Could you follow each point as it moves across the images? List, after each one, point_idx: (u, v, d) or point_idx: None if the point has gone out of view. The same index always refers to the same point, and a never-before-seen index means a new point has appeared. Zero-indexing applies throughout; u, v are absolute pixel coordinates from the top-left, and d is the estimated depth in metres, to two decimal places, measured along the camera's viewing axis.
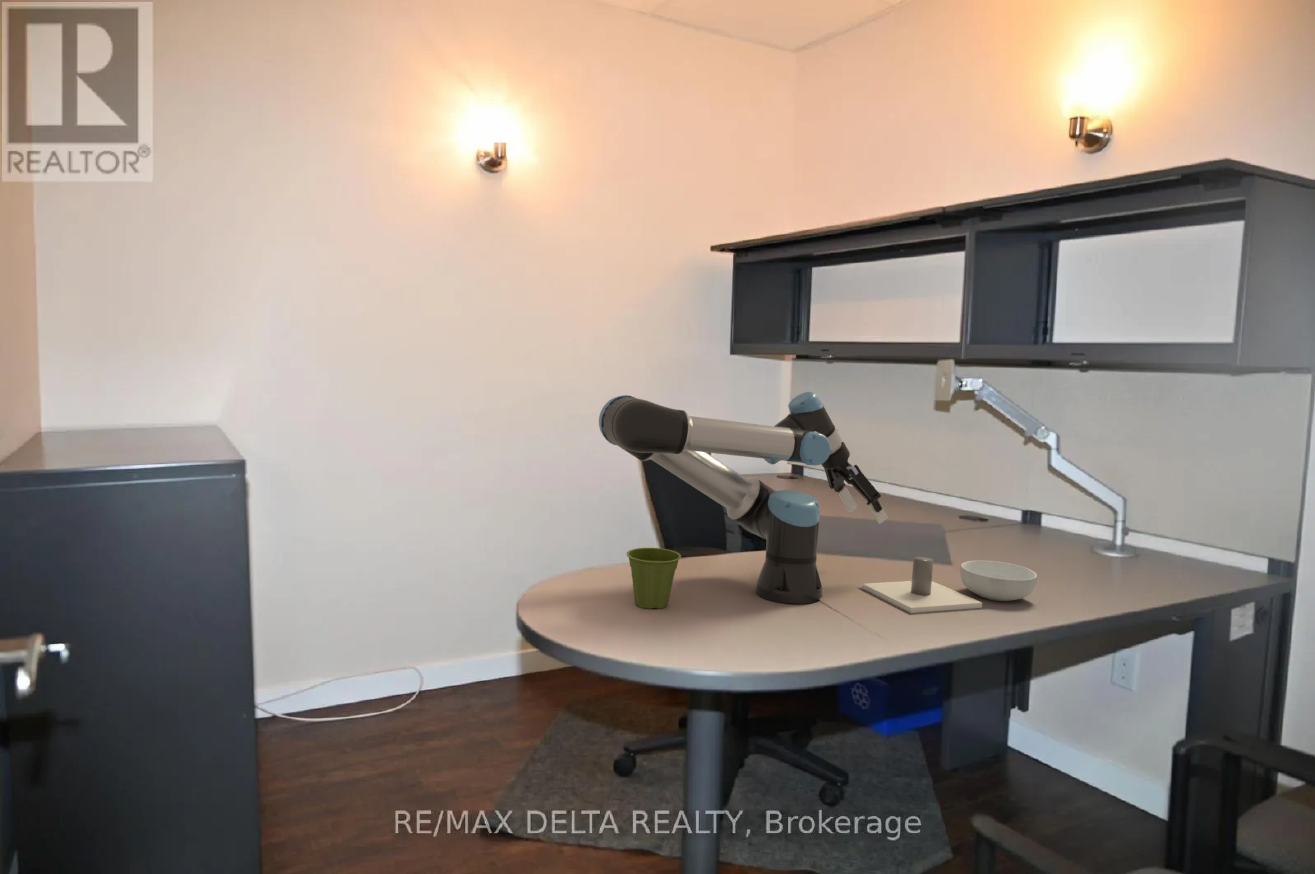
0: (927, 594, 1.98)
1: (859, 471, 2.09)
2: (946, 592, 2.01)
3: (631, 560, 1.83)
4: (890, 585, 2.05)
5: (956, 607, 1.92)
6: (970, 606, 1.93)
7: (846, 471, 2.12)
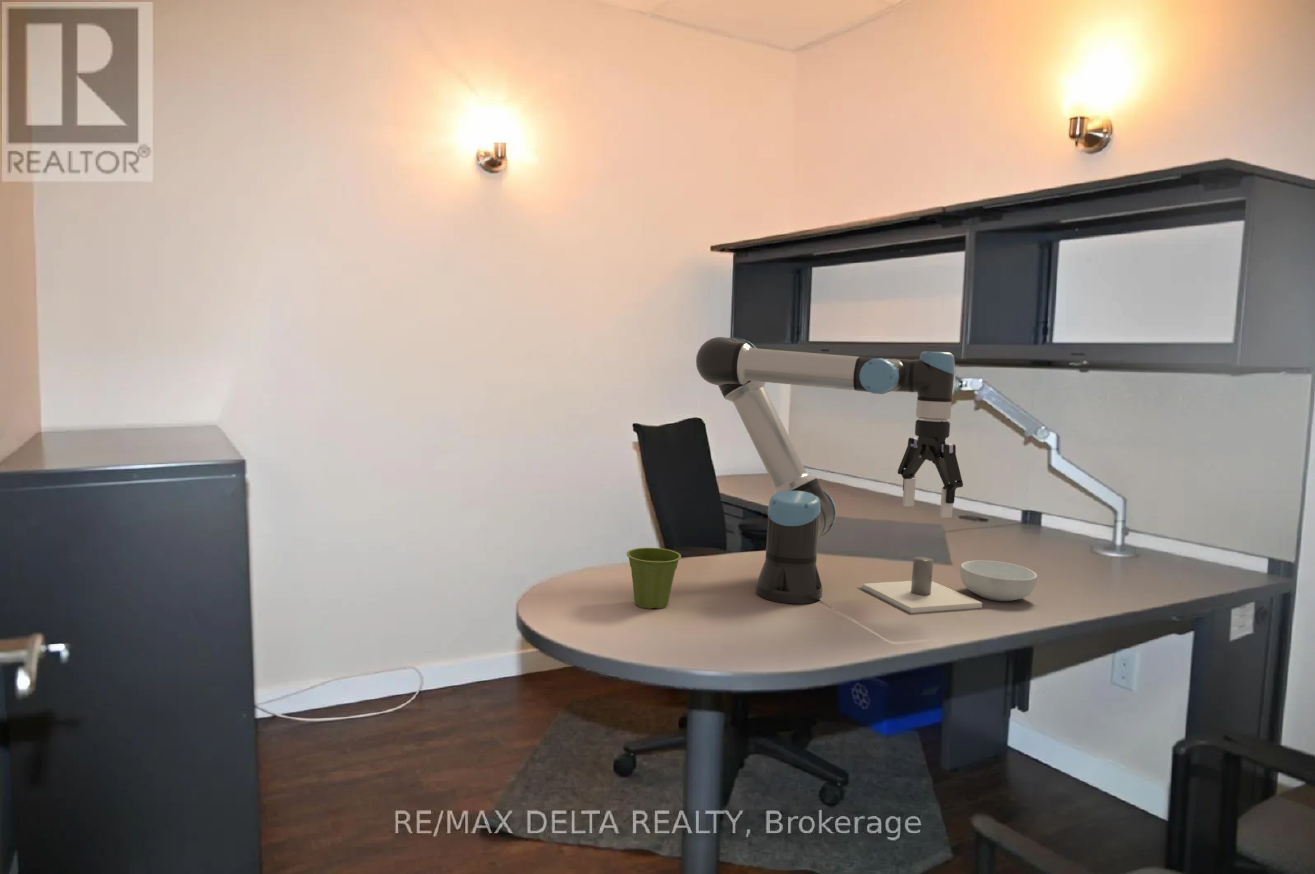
0: (927, 594, 1.98)
1: (954, 451, 1.90)
2: (946, 592, 2.01)
3: (631, 560, 1.83)
4: (890, 585, 2.05)
5: (956, 607, 1.92)
6: (970, 606, 1.93)
7: (939, 447, 1.92)
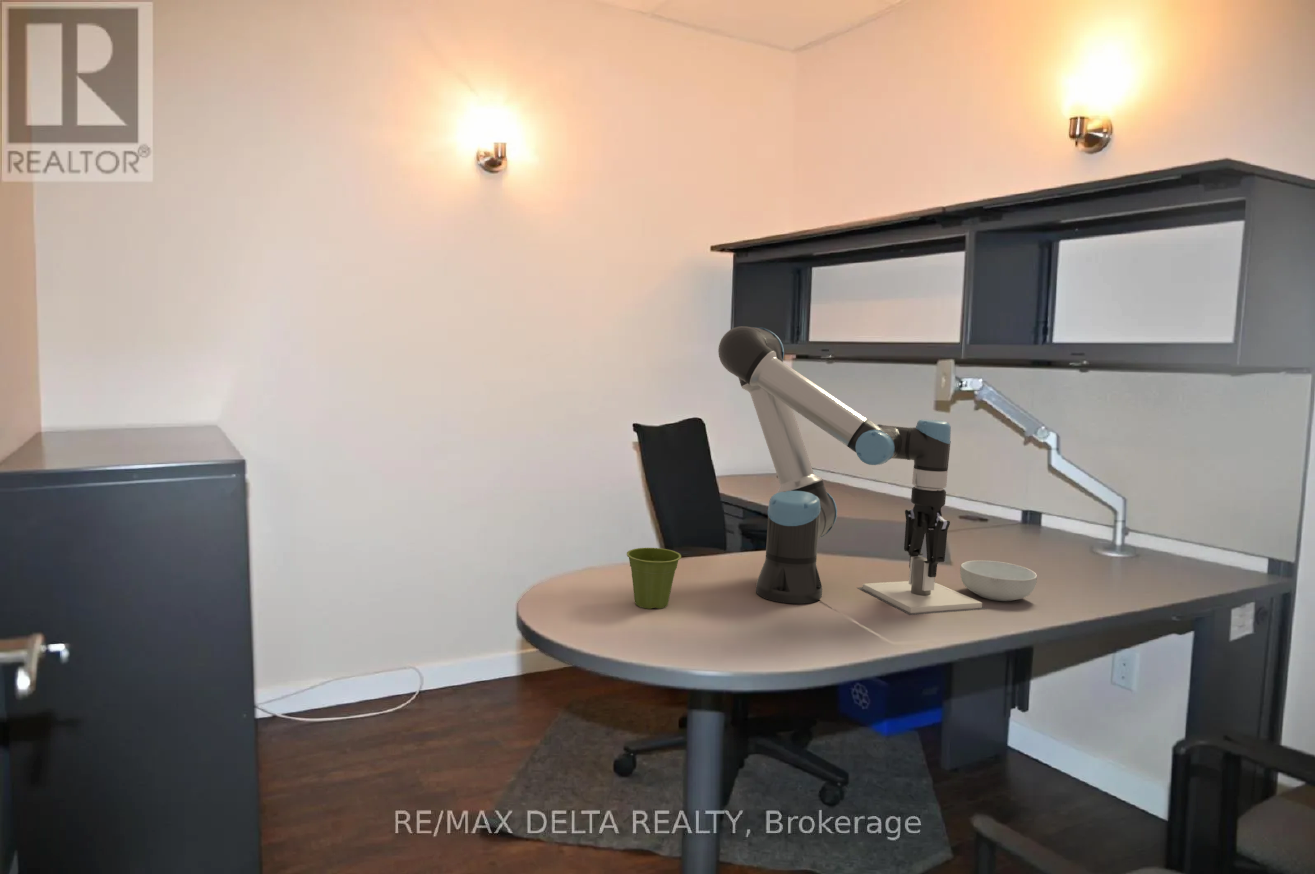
0: (927, 594, 1.98)
1: (946, 528, 1.92)
2: (946, 592, 2.01)
3: (631, 560, 1.83)
4: (890, 585, 2.05)
5: (956, 607, 1.92)
6: (970, 606, 1.93)
7: (934, 517, 1.94)
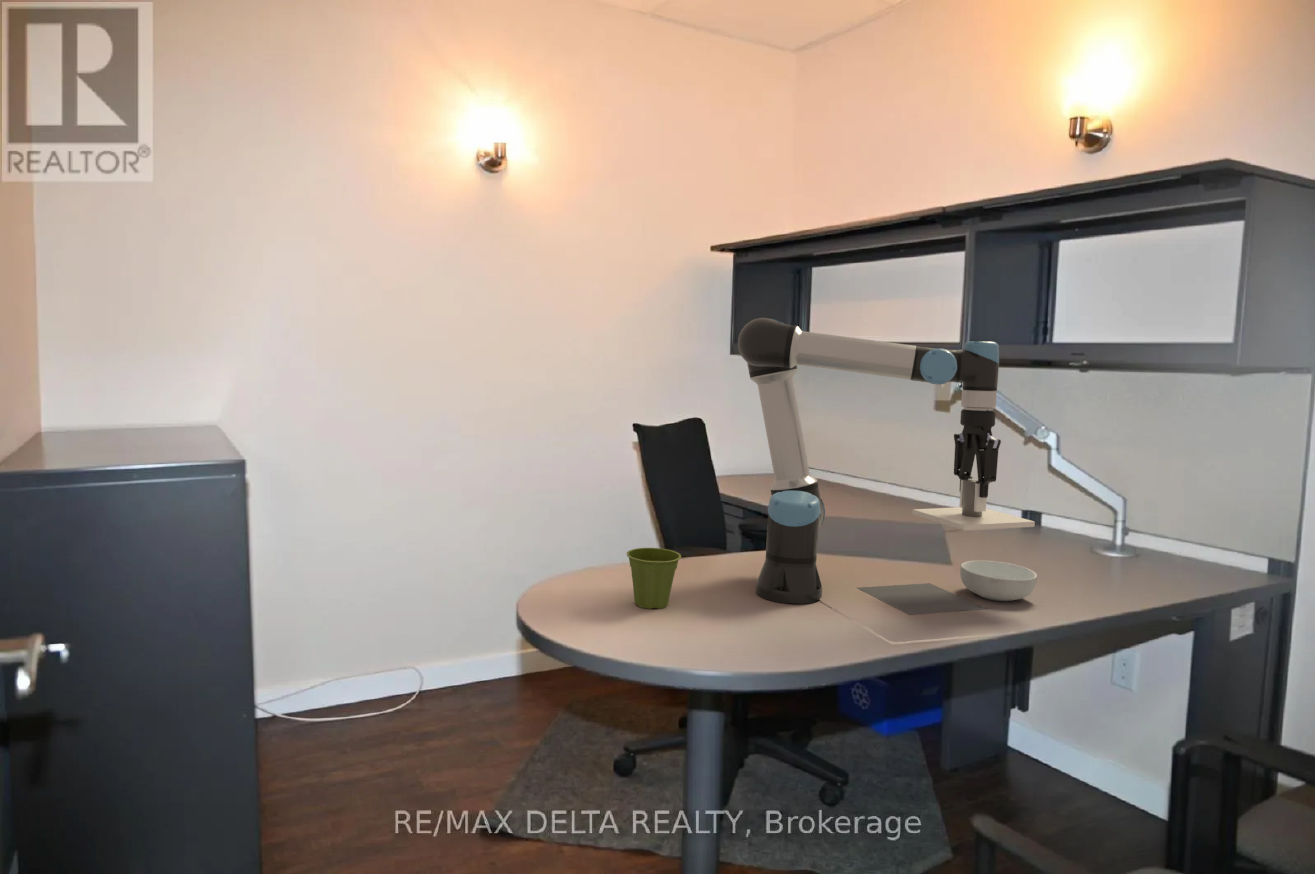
0: (979, 515, 1.98)
1: (997, 447, 1.93)
2: (997, 514, 2.01)
3: (631, 560, 1.83)
4: (940, 510, 2.05)
5: (1009, 525, 1.92)
6: (1023, 525, 1.93)
7: (985, 437, 1.94)
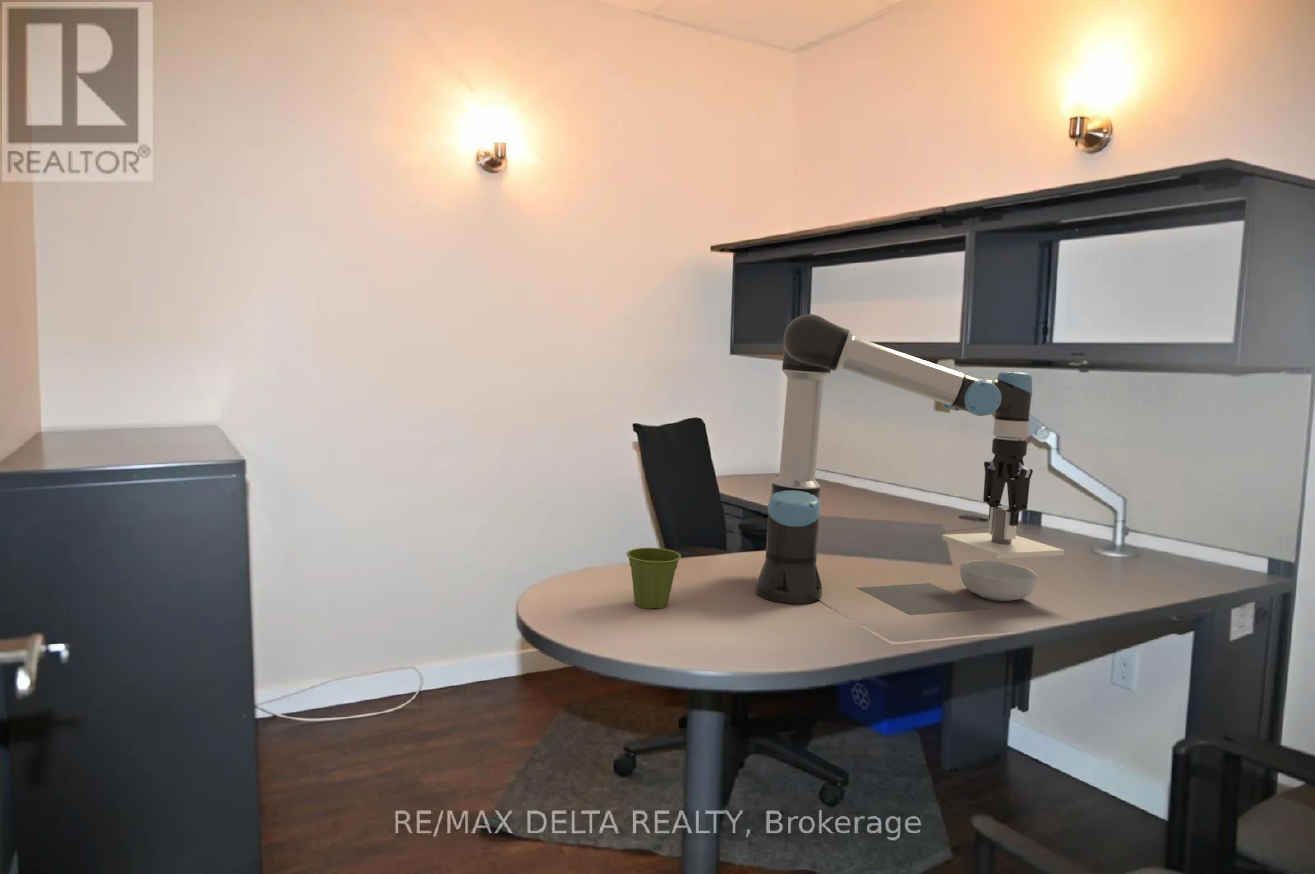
0: (1008, 543, 2.01)
1: (1029, 477, 1.96)
2: (1026, 542, 2.05)
3: (631, 560, 1.83)
4: (969, 536, 2.08)
5: (1039, 554, 1.95)
6: (1053, 553, 1.97)
7: (1017, 467, 1.97)
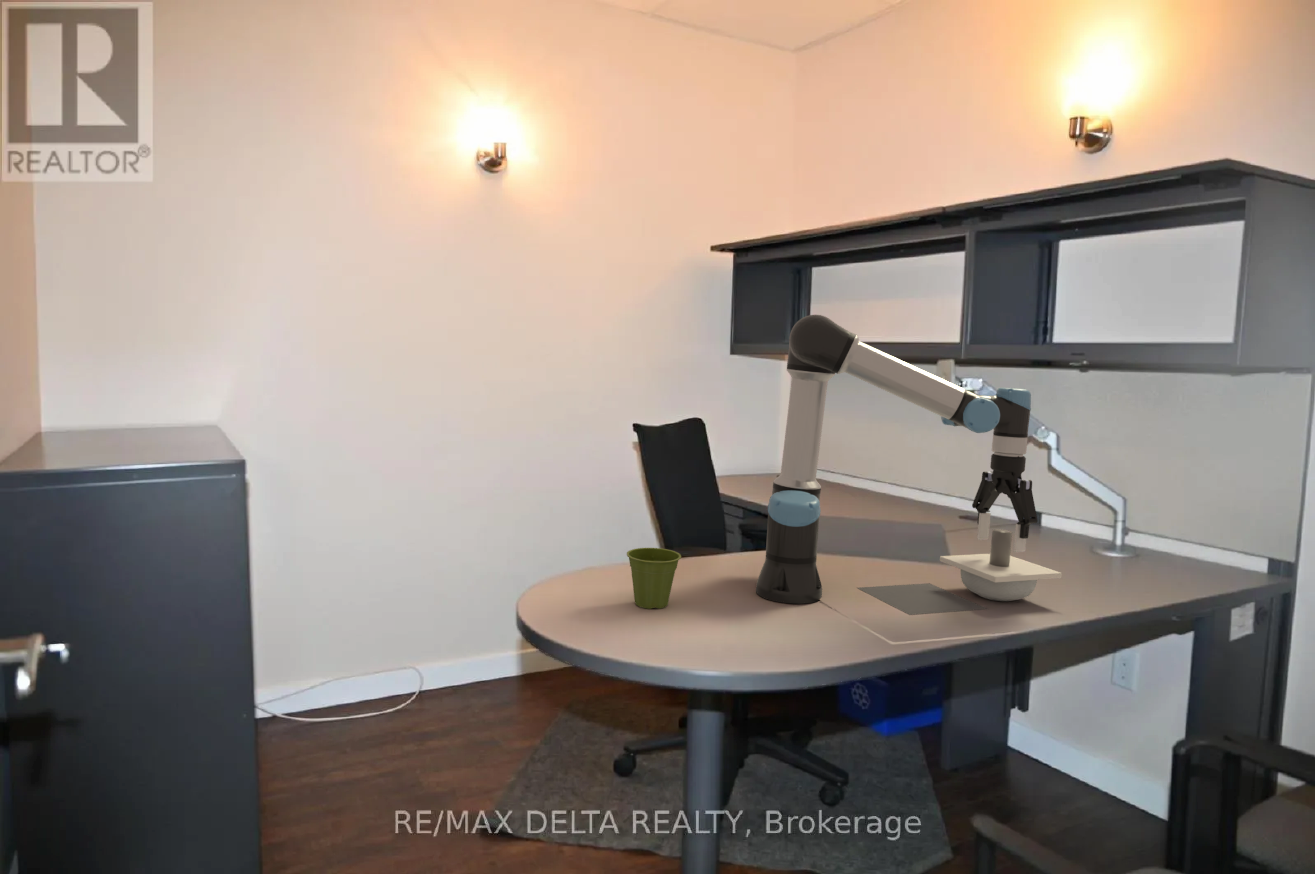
0: (1006, 565, 2.02)
1: (1030, 488, 1.96)
2: (1023, 564, 2.05)
3: (631, 560, 1.83)
4: (967, 557, 2.09)
5: (1037, 577, 1.96)
6: (1050, 576, 1.97)
7: (1015, 481, 1.98)
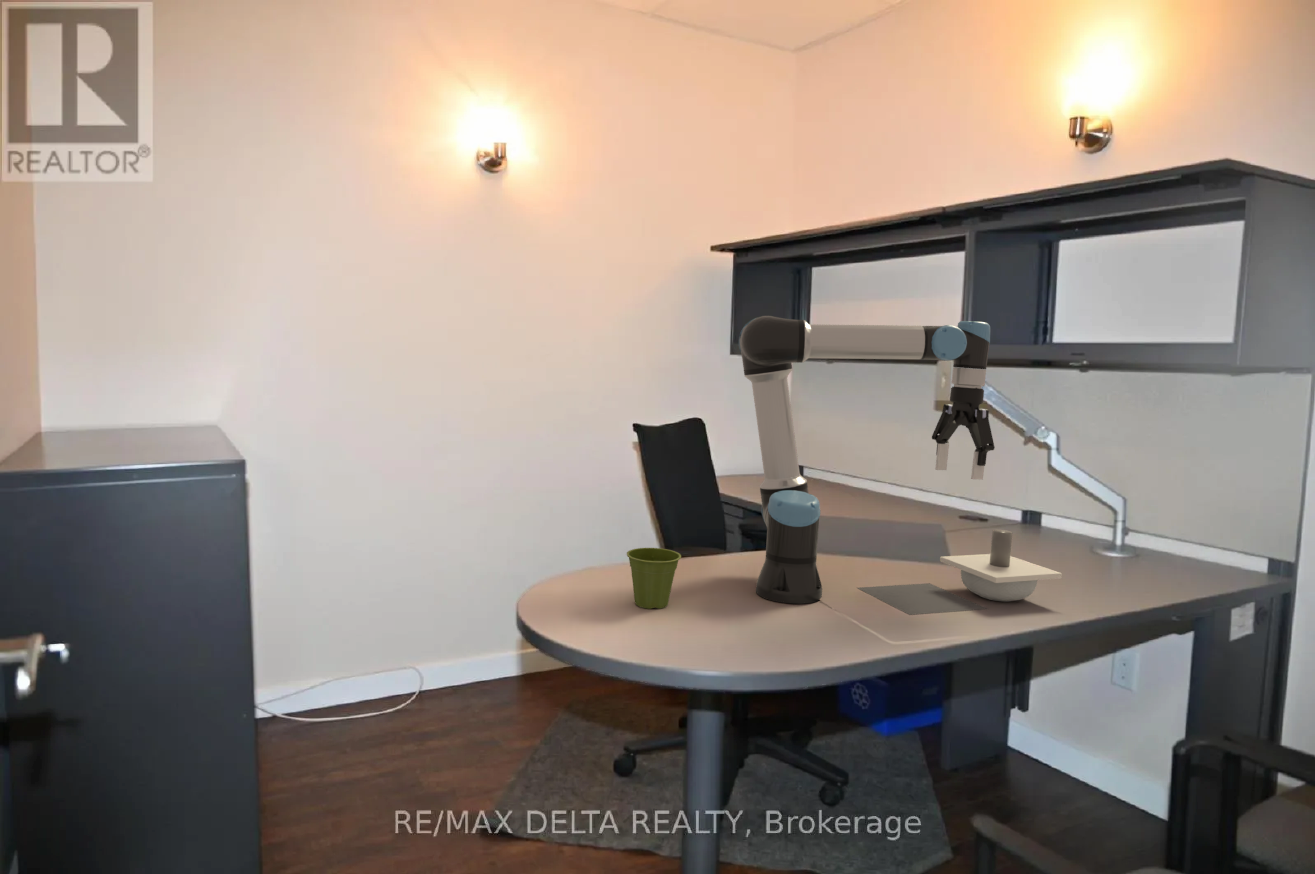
0: (1006, 565, 2.01)
1: (987, 416, 2.00)
2: (1023, 564, 2.05)
3: (631, 560, 1.83)
4: (967, 558, 2.09)
5: (1038, 577, 1.96)
6: (1051, 576, 1.97)
7: (973, 412, 2.02)
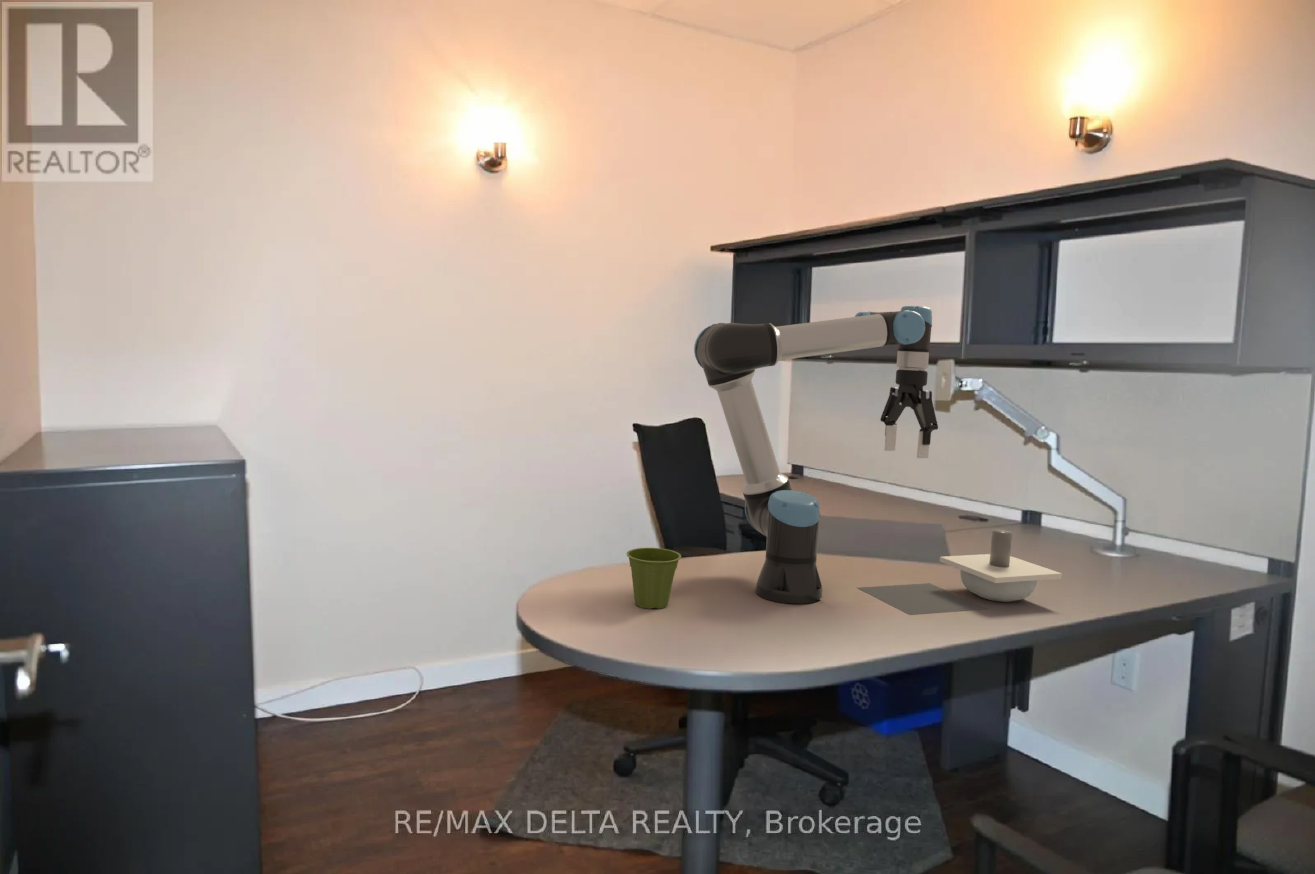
0: (1006, 566, 2.01)
1: (930, 397, 2.07)
2: (1023, 564, 2.05)
3: (631, 560, 1.83)
4: (967, 558, 2.08)
5: (1037, 577, 1.95)
6: (1050, 577, 1.97)
7: (917, 393, 2.10)
